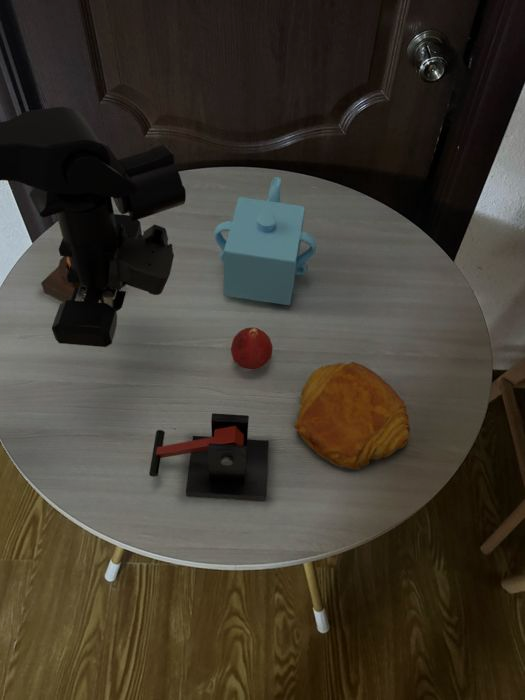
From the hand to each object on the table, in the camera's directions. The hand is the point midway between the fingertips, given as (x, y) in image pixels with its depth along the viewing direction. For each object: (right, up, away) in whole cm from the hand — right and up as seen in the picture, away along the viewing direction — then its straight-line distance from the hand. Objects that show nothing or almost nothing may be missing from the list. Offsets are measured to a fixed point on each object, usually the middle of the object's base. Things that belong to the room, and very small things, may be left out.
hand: (111, 321), depth 78 cm
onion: (+17, -6, +12) cm, 22 cm away
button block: (-9, +7, +20) cm, 23 cm away
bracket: (+15, -19, +2) cm, 24 cm away
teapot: (+20, +10, +24) cm, 33 cm away
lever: (+11, -16, -2) cm, 20 cm away
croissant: (+31, -14, +7) cm, 34 cm away
